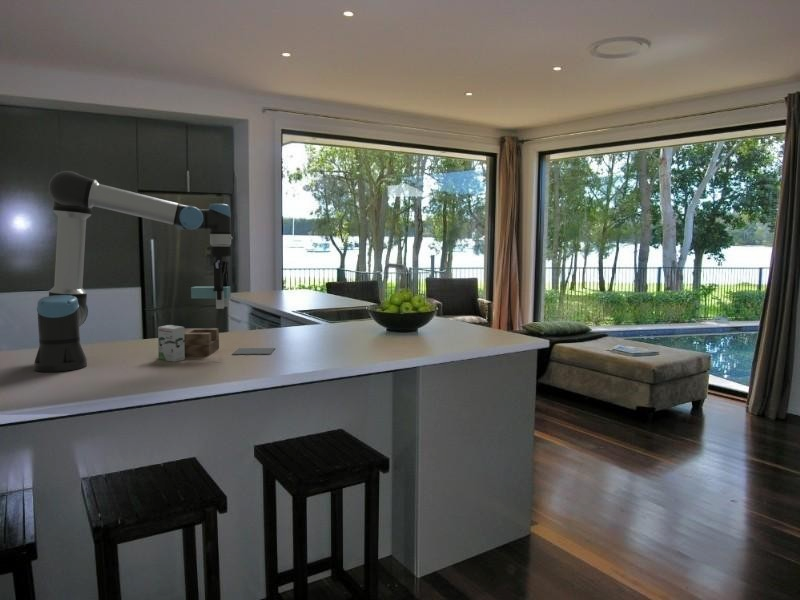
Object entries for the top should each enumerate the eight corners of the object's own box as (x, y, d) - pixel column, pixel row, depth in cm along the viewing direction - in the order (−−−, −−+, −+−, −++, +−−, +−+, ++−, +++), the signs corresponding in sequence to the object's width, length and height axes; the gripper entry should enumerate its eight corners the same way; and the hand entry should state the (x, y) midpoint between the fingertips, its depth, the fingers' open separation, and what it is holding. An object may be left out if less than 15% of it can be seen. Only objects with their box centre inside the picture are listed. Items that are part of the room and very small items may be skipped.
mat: (232, 354, 222) (232, 353, 222) (239, 349, 234) (239, 348, 234) (270, 354, 222) (270, 353, 222) (275, 348, 234) (275, 347, 234)
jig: (164, 355, 219) (163, 334, 218) (177, 348, 234) (176, 328, 233) (209, 355, 220) (208, 334, 219) (219, 348, 235) (218, 328, 234)
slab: (191, 298, 222) (190, 287, 222) (195, 296, 228) (195, 286, 227) (226, 298, 223) (226, 287, 222) (230, 296, 229) (230, 286, 228)
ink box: (157, 359, 213) (156, 326, 212) (169, 357, 217) (168, 324, 216) (174, 361, 209) (173, 328, 208) (185, 359, 213) (185, 326, 212)
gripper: (225, 246, 214) (226, 310, 217) (236, 245, 233) (237, 304, 235) (203, 245, 214) (205, 310, 216) (216, 245, 233) (218, 305, 235)
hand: (222, 307), depth 226 cm, fingers closed on slab, 6 cm apart
